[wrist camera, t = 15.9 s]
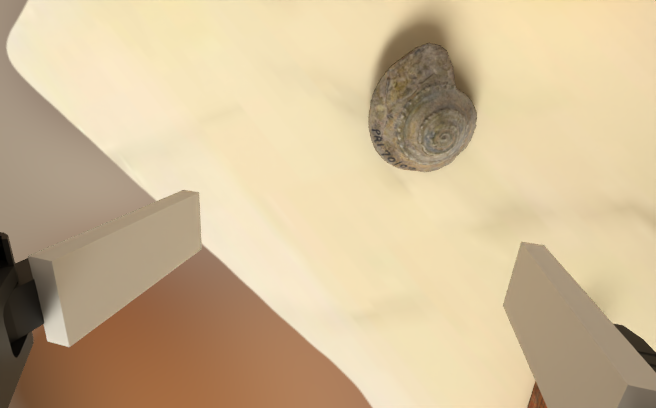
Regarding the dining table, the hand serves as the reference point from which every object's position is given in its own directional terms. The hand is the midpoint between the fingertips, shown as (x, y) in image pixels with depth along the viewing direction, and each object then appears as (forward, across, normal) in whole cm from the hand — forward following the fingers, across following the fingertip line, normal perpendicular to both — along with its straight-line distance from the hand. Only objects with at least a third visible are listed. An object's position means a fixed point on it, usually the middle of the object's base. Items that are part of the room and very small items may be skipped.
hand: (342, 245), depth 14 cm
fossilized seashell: (+26, +3, +4) cm, 26 cm away
